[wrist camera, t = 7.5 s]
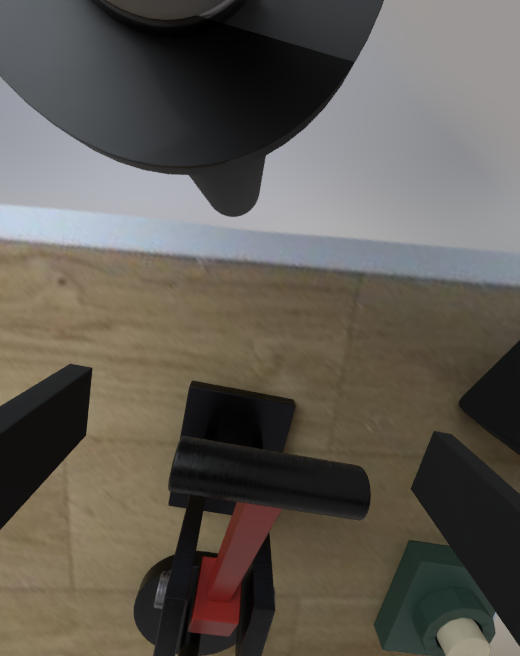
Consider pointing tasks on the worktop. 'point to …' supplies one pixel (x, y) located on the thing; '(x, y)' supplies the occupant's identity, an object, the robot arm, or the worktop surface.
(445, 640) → the timer button
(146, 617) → the desk lamp
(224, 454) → the switch lever
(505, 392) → the electronic device
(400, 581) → the timer box
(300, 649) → the worktop surface
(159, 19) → the robot arm
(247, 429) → the stand
